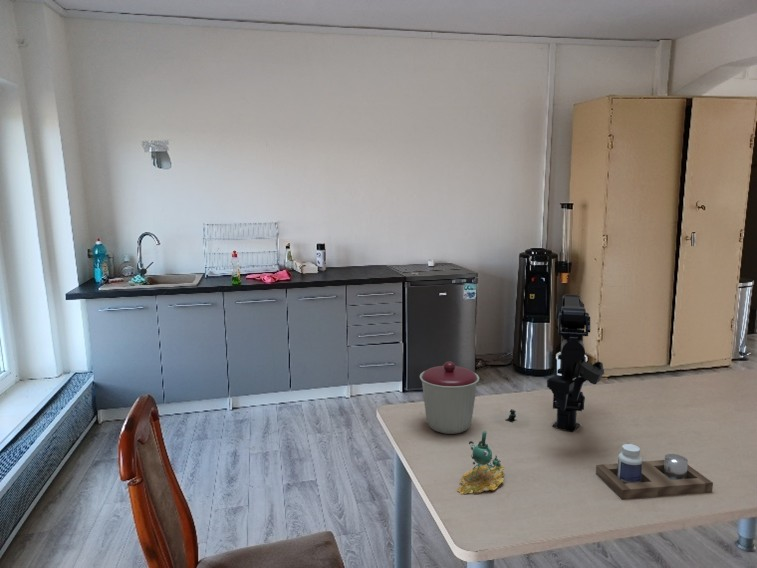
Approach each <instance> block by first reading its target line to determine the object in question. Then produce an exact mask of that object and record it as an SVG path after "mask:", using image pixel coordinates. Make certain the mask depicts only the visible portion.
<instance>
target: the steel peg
mask: <svg viewBox="0 0 757 568" xmlns="http://www.w3.org/2000/svg"><path fill="white" fill-rule="evenodd" d="M664 460H665V461H664V475H665V476H667V477H668V478H669V479H670V480H679V479H686V477H687V465H689V464H688V462H689V461H688V458H686V457H685V456H682V455H679V454H677V453H676V454H675V453H666V454H665V455H664Z"/></svg>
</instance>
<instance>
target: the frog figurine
mask: <svg viewBox="0 0 757 568" xmlns="http://www.w3.org/2000/svg"><path fill="white" fill-rule="evenodd" d="M486 440H487V431H486V430H483V431H482V435H481V440H479V441H478V444H477V445H474V441H472V440H470V441H469V442H468V445H470V450H471V451H472V454H470V457H471V459H472V460H474V461H472V465H474V467H472V469H470V470H468V471H466V472H464V473H463V475H462V476H461V479H460V480H459V482H460V483H461V485H460V487H458V488H457V490H456V492H459V493H460V495H466V494H472V495H473V494H474V495H475V494H477V495H478V494H480V493H482V492H484V491H485V492H488V491H495V490H496V489H498V487H499V486H500V485H501V484H502V483H503V482H504V480H505V478H504V477H505V476H504V475H505V472H504V471H505V466H503V465H502V463H501V460H500V459H498V458H497V457H498V456H497V454H495V458H493V452H492V449H491V448H490V446H489V445H488V444H487V443H486ZM489 463H490V464H489ZM475 464H476V465H475Z"/></svg>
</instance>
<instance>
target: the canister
mask: <svg viewBox="0 0 757 568" xmlns="http://www.w3.org/2000/svg"><path fill="white" fill-rule="evenodd" d="M419 379H420V381H421V384H422V394H423V403H424V409H425V410H424V411H425V416H426V417H425V419H426V423H427V425H428V426H429V427H430V428H431V430H434V431H435V432H438V433H441V434H445V435H448V434H449V435H455V434H456V435H457V434H459V433H464V432H465V431H467V430H468V429H469V428H470V426H471V425H472V424H471V423H472V419H473V414H474V409H475V401H476V394H477V384H478V382H479V381H480V376H479V375H478V373H476V372H474V371H472V370H471V369H469V368H466V367H462V366H457V365H456V364H455V363H454V362H452V361H446V362H444V363H443V365H438V366H433V367H429V368H428V369H426V370H423V372H421V373H420V374H419Z"/></svg>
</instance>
